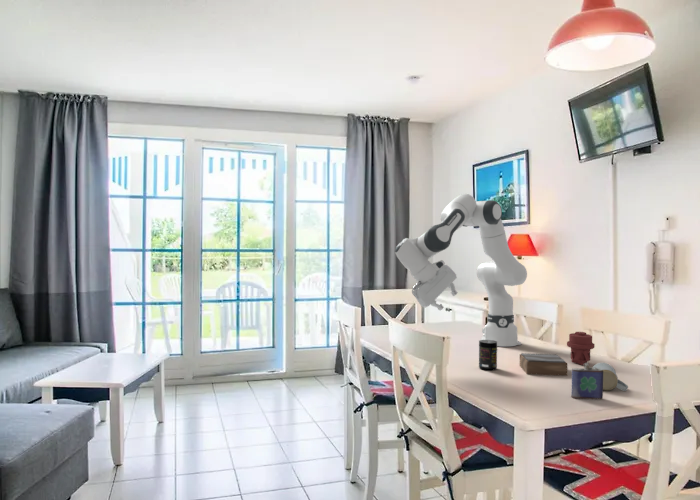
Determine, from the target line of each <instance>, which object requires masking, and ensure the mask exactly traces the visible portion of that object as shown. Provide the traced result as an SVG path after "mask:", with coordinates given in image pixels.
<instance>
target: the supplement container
mask: <svg viewBox="0 0 700 500" xmlns="http://www.w3.org/2000/svg"><path fill="white" fill-rule="evenodd" d="M497 367H498V346H497V341H494V340H481V339H480V340H478V368H479V369H480V370H483V371H488V372H489V371H490V372H491V371H496V370H497Z"/></svg>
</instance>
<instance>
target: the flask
mask: <svg viewBox="0 0 700 500" xmlns="http://www.w3.org/2000/svg"><path fill="white" fill-rule="evenodd" d="M592 368H593V366H592V367H591V366H589V362H588V363H585V364H584V365H583V368H582V367H581V368H577V367H575V368H572V369H571V394H570V395H571V398H572V399H576V400H577V399H578V400H580V399H582V400H590V399H591V400H599V401H600V400H603V395H604V390H603V370H601V369H598V368H596V369H592Z"/></svg>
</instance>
